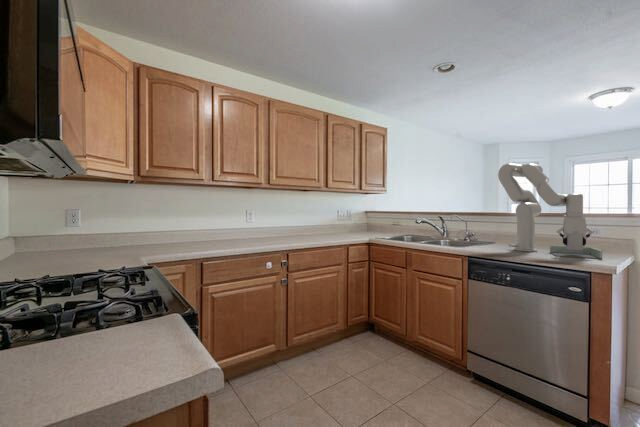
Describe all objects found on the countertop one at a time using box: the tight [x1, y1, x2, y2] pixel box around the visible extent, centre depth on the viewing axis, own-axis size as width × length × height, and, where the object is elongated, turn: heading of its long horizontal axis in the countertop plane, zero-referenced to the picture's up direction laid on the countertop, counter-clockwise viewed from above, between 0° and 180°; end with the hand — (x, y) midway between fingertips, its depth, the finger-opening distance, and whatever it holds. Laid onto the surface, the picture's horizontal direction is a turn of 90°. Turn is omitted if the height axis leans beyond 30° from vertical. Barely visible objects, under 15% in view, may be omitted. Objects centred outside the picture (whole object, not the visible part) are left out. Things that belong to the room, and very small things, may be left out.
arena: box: [549, 245, 603, 260], centre depth 173 cm, size 20×16×5 cm
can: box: [565, 231, 584, 252], centre depth 172 cm, size 8×8×12 cm
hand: (574, 245), depth 172 cm, fingers closed on can, 7 cm apart
